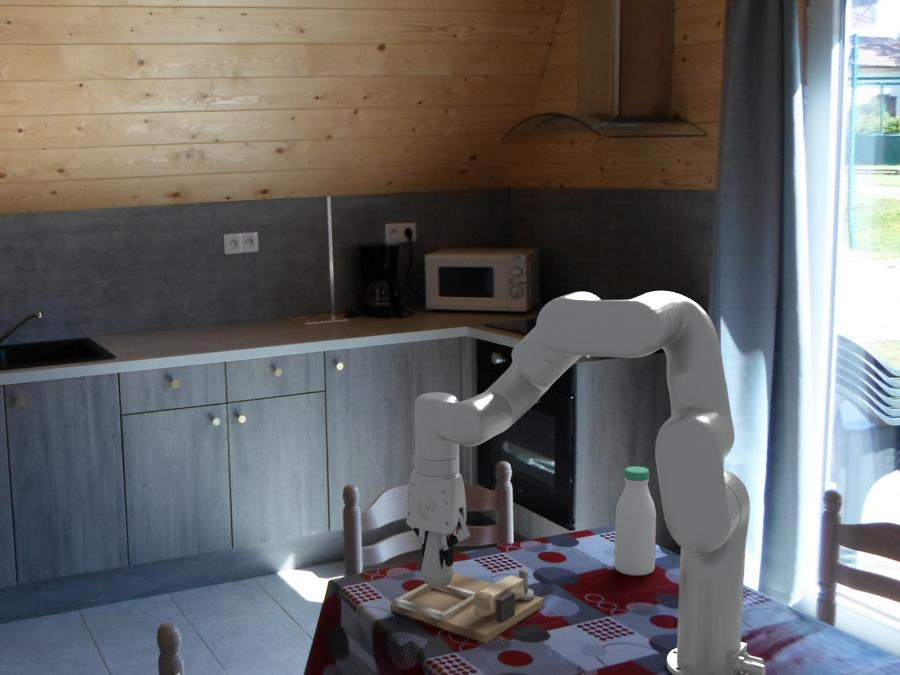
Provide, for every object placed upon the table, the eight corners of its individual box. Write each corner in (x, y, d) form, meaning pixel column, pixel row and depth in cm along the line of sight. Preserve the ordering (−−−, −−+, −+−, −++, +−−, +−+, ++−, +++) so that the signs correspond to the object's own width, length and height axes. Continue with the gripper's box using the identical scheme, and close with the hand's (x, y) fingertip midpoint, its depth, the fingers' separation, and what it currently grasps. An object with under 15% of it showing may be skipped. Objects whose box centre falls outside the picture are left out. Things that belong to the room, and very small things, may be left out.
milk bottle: (654, 578, 200) (657, 476, 197) (613, 575, 202) (615, 473, 199) (655, 563, 208) (657, 464, 205) (615, 560, 209) (617, 462, 206)
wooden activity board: (543, 606, 188) (544, 571, 187) (485, 642, 174) (485, 605, 173) (453, 579, 200) (453, 547, 199) (391, 612, 186) (391, 577, 185)
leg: (509, 591, 187) (510, 575, 187) (524, 595, 185) (524, 579, 185) (470, 613, 178) (470, 596, 178) (485, 617, 176) (485, 600, 176)
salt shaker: (416, 587, 184) (416, 515, 182) (427, 575, 189) (426, 505, 187) (449, 591, 182) (448, 519, 180) (458, 578, 188) (458, 508, 186)
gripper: (386, 462, 184) (387, 562, 187) (462, 478, 174) (462, 584, 177) (413, 452, 190) (414, 550, 193) (488, 468, 180) (488, 571, 183)
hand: (437, 565), depth 185 cm, fingers closed on salt shaker, 3 cm apart
